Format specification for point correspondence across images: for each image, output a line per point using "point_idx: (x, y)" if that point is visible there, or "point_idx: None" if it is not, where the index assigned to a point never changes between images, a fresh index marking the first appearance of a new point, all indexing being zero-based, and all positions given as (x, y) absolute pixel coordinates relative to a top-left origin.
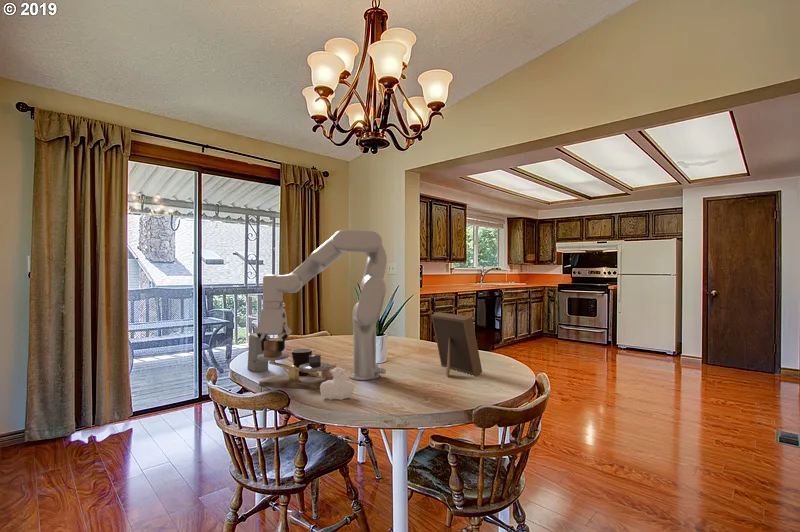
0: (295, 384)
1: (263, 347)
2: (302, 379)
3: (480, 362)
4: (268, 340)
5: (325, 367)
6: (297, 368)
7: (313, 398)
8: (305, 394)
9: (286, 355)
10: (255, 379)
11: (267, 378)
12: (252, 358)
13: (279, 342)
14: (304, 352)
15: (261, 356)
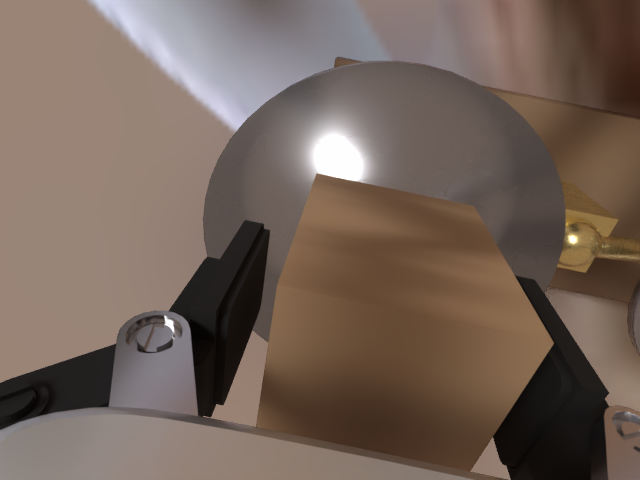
0: (550, 284)
1: (250, 332)
2: (602, 194)
3: None
4: (295, 400)
5: None
6: (608, 257)
7: (636, 410)
8: (600, 365)
9: (540, 254)
10: (219, 88)
11: None
12: None
13: (516, 465)
14: None
15: (266, 290)
